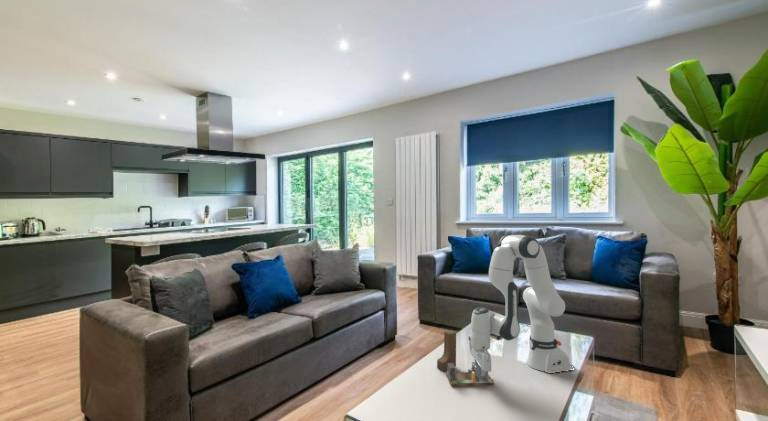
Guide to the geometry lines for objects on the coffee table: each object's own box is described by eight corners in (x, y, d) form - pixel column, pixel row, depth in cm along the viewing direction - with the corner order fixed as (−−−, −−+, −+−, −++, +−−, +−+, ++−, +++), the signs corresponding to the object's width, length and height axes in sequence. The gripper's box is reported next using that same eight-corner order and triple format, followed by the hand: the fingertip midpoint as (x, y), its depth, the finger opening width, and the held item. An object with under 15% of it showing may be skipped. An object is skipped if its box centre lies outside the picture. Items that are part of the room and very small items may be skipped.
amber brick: (473, 379, 164) (473, 371, 164) (474, 381, 162) (475, 373, 162) (471, 379, 164) (471, 371, 164) (472, 381, 162) (472, 373, 162)
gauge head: (484, 374, 170) (484, 361, 170) (490, 382, 162) (490, 369, 162) (467, 374, 169) (467, 362, 169) (472, 382, 162) (472, 370, 162)
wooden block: (442, 371, 175) (443, 336, 174) (436, 368, 179) (437, 333, 178) (456, 367, 180) (456, 332, 179) (450, 363, 184) (450, 329, 183)
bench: (486, 374, 173) (486, 359, 172) (494, 385, 163) (494, 369, 162) (446, 375, 171) (446, 360, 171) (451, 387, 161) (451, 370, 161)
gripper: (495, 352, 156) (494, 383, 157) (479, 334, 177) (479, 361, 177) (481, 352, 156) (480, 383, 157) (467, 334, 176) (467, 361, 177)
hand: (480, 371), depth 167 cm, fingers closed on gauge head, 5 cm apart
